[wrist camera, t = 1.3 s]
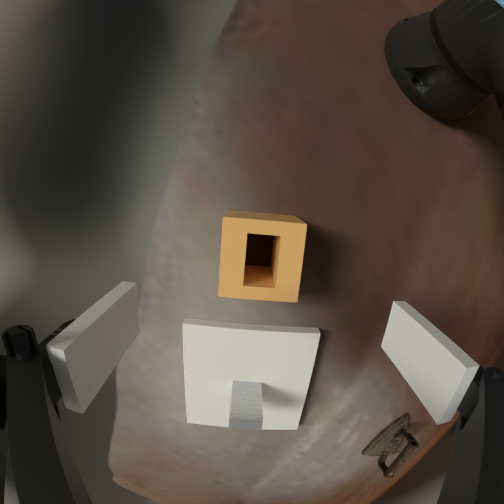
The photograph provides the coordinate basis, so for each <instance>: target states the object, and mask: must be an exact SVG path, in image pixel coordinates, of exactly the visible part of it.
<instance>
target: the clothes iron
mask: <svg viewBox="0 0 504 504" xmlns="http://www.w3.org/2000/svg"><path fill="white" fill-rule="evenodd" d="M408 424H409V417H408V414H407V413H406V414H404V415H402V416H401V417H399V418H398V419H396V420H395V421H393V422H392V423H391V424H390V425H388V426H387V427H386V428H385V429H384V430H382V431H381V432H380V433H379V434H378V435H377V436H376V437H375V438H374V439H373V440H372V441H371V442H370V443H369V444H368V445H367V446H366V448H365V449H364V450H363V451H362V455H366V456H380V457H379V459H378V466H379V467H380V468H381V470H382V471H383V475H384V477H386V478H388V479H389V478H392V477H393V475H394V473H395V472H396V471H397V470H398V468H399V467H400V466H401V465H402V464H403V463H404V462H405V460H406V459H407V458H408V457H409V456H410V454H411V453H412V452H413V451H414V449H416V448H418V446H419V444H418V442H417V441H416V440H415V439H414V438H413V436H412V435H411V434H410V433H406V431H407V428H408ZM404 437H406V439H407V440H408V444H407V445H406V447H405V448H404V449H403V451H402V452H401V453H400V454H399V455H398V457H397V458H396V459H395V460H394V461H393V463H392V464H391V465H390V466H389V467H387V466H386V465H385V460H386V457H387V455H392V454H393V453H394V452H395V450H396V449H397V448H398V446H399V445H400V443H401V441H402V440H403V438H404Z"/></svg>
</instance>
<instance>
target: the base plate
mask: <svg viewBox="0 0 504 504" xmlns="http://www.w3.org/2000/svg"><path fill="white" fill-rule="evenodd" d="M320 334H321V333H320V331H319V329H318V328H314V327H290V326H272V325H257V324H243V323H231V322H220V321H210V320H201V319H192V318H185V320H184V322H183V356H184V379H185V397H186V411H187V422H188V423H195V424H203V425H211V426H220V427H229V415H230V405H231V394H232V384H233V380H235V381H249V382H261V384H262V407H263V424H262V429H268V430H297V428H298V424H299V421H300V417H301V413H302V410H303V406H304V402H305V399H306V395H307V391H308V387H309V383H310V379H311V375H312V370H313V366H314V362H315V357H316V353H317V348H318V344H319V339H320Z"/></svg>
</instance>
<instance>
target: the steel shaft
mask: <svg viewBox="0 0 504 504" xmlns="http://www.w3.org/2000/svg"><path fill="white" fill-rule="evenodd" d="M262 424H263V407H262V384H261V382H249V381H235V380H233V384H232V394H231V405H230V415H229V429H240V430H259V431H261V430H262Z"/></svg>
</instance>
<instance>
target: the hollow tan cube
mask: <svg viewBox="0 0 504 504" xmlns="http://www.w3.org/2000/svg"><path fill="white" fill-rule="evenodd" d="M306 231H307V224H306V223H305V222H303V221H302V220H300V219H299V218H297V217H296V216H290V215H280V214H269V213H257V212H245V211H232V210H229V211H228V212H227V213H226V214H225V215H224V216H223V224H222V239H221V255H220V273H219V292H218V297H229V298H240V299H253V300H266V301H281V302H297V300H298V293H299V286H300V279H301V271H302V264H303V256H304V248H305V239H306ZM248 233H251V234H263V235H274V236H273V246H272V256H271V266H270V267H268V266H255V265H245V259H246V246H247V234H248Z"/></svg>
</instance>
